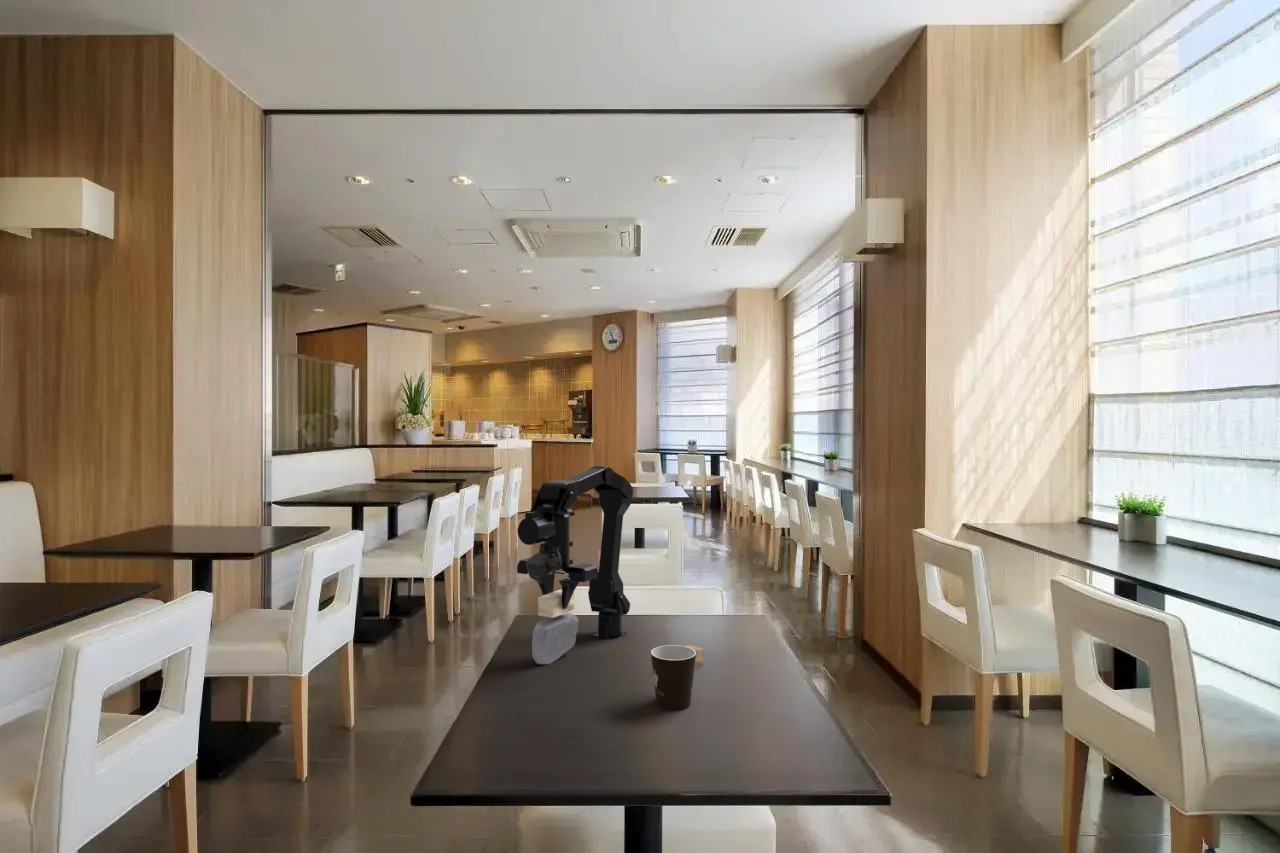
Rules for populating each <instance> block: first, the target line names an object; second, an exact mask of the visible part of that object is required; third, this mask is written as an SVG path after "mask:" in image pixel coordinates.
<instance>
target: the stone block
mask: <svg viewBox="0 0 1280 853" xmlns="http://www.w3.org/2000/svg"><path fill="white" fill-rule="evenodd" d="M579 621H580V619H579V618H578V616H577V615H576V614H574V613H573V614H572V613H570V612H569V611H568V612H566V613H564V614H561V615H559V616H556V617H554V618H550V617H547V618H544V619H541V620H540V621H538V622H537V623H536V625H535V627H534V628H533V632H532V641H531V647H532V654H531V655H532V659H533V661H534V662H535V664H537V665H550V664H552V663H554V662H555V661H557V660H558V659H560V658H561V657H562V656H563V655H564V654H565V653H567V652H568V651H569V650H570V649H572V648H573V647H574V646H575V643H576V638H577V633H578V629H579Z"/></svg>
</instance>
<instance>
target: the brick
mask: <svg viewBox="0 0 1280 853" xmlns="http://www.w3.org/2000/svg"><path fill="white" fill-rule="evenodd" d="M686 647H689V648H692V649H694V650H695V651H696V659H695V668H694V671H695V670H698V669H700V668H701V667H704V648H702V647H698V646H695V645H691V644H687V645H686Z"/></svg>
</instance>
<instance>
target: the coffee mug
mask: <svg viewBox="0 0 1280 853" xmlns="http://www.w3.org/2000/svg"><path fill="white" fill-rule="evenodd" d="M686 646H687V645H686ZM686 646H685V645H679V644H669V645H668V644H666V645H660V646H657V647H654V648H652V649H651V651H650V656H651V666H652V676H653V685H654V693H655V702H656V706H658V708H660V709H663V710H666V711H673V712H676V711H677V712H678V711H684V710H687V709H689V708H690V706H691V701H692V694H693V693H692V692H693V683H694V675H695V670H694V668H695V659H696V651H695V650H694V649H692V648H689V647H686Z"/></svg>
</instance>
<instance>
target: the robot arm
mask: <svg viewBox="0 0 1280 853" xmlns="http://www.w3.org/2000/svg"><path fill="white" fill-rule="evenodd" d="M591 490H594V491H595V492H596V494H598V504H599V507H600V508H601V510H602V512H603V520H602V531H601V542H600V554H599V563H598V564H599V565H598V567H597V566H596V564H591V563H583V562H582V563H578V564H576V565H573V564H574V559H572V558H571V557H570V555H571V554H570V548H571V547H573V546H574V542H573V541H572V540H570V532H571V531H570V530H571V529H570V528H571V527H570V526H571V525H570V524H571V523H570V522H571V521H570V517H574V516H575V515H576V513H575V511H574V510H572V509H571V507H572V506H573V505H574V504H575V503H577V502H578V498H579V497H580V496H581V495H582V494H583V495H584V494H585V493H587V492H589V491H591ZM633 494H634V488H633V486H632V485H631V483H630V482H629V481H628V480H627V478H625V477H624V476H622V475H620V474H619V473H616V472H615V471H614V469H613V468H612V467H609V466H606V465H605V466H604V465H594V466H591V467H590V468H589V469H587V470H584V471H583V472H580V473H577V474H575V475H573V476H571V477H569V478H567V479H558V480H557V479H555V480H549V481H544V482H543V483H542V484H541V485H540V488H539V489H538V493H537V494H536V497H535V499H534V500H533V501H534V502H533V504H532V507H531V509H530V511H528V512H525V513H524V518H523V519H522V520H521V521H520V522H519V524H518V527H517V535H518V539H519V540H520V541H521V543H522V544H524V545H526V546H530V545H535V544H539V543H540V545H539V550H538V552H537V553H535V554H533V555H532V556H531V557H528V558H524V559H521V560H519V561H518V563H516V564H517V565H516V573H517V574H522V575H528V576H529V577H530V578H529V579H533V581H535V582H537V584H538V586H539V588H540V590H541V594H542V596H543V595H546V594H549V593H551V592H554V586H555V577H556V576H555V575H556V574H559V575H564V576H563V577H564V578H562V579H559V580H558V583H559V585H560V586H561V590H562V608H563V609H566V608H567V606H568V604H569V602H570V599H571V597H572V595H573V592H574V593H575V591H576V588H577V587H578V584H579V583H586V582H588V581H589V585H588V586H589V587H588V592H587V595H588V599H589V601H588V602H589V605H590V610H591V612H592V613H593V612H595V613H597V614H598V621H597V632H596V633H595V634H593V637H594V636H597V637H596V638H600V637H602V638H601V639H605V638H607V639H606V640H610V639H613V638H614V639H616V640H618V639H620V638H622V637H621V636H623V635H625V634H627V635H628V632H627V631H623V616H625V615H626V616H627V615H628V613H629V612H630V609H631V608H630V607H631V602H630V601H629V599H628V598H627V596H626V594H624V583H623V580H622V578H621V576H620V574H619V567H620V566H619V565H620V557H621V556H620V555H621V554H620V553H621V543H622V533H623V532H622V530H623V522H624V515H625V514H626V512H627V511H628V509H629V508H630V506H631V504H632V503H631V502H632V497H633ZM571 565H572V566H571ZM625 636H626V635H625ZM619 637H620V638H619ZM623 637H624V636H623ZM617 638H618V639H617Z"/></svg>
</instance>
